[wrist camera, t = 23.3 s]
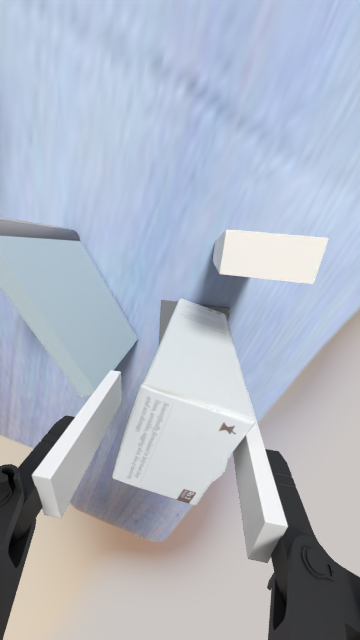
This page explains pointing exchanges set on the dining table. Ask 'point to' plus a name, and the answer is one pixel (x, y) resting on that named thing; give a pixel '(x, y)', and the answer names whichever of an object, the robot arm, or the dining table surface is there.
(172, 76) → the dining table surface
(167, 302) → the mat
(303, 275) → the wall
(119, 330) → the door
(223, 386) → the skincare box
